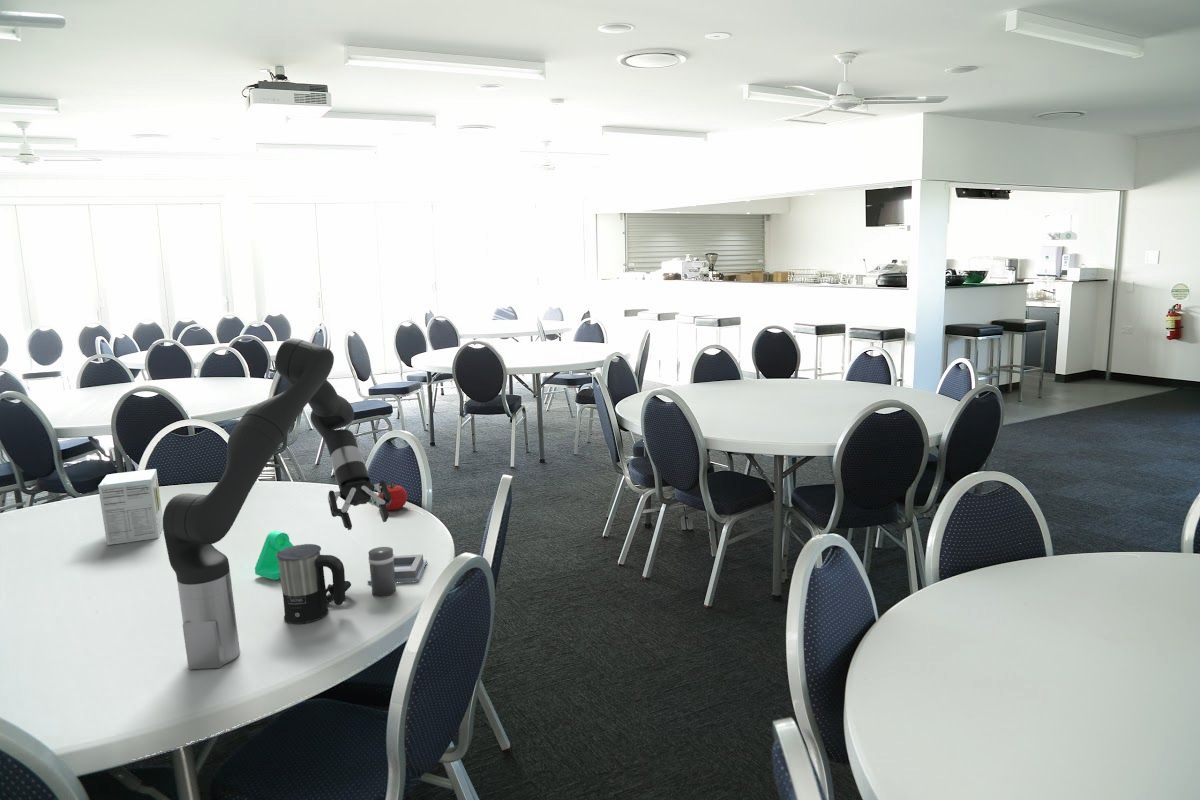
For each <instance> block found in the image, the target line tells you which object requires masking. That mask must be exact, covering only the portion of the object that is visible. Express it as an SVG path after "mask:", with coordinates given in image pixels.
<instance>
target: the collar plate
mask: <svg viewBox="0 0 1200 800" xmlns="http://www.w3.org/2000/svg"><path fill="white" fill-rule="evenodd" d="M426 563H428V560H427V559H424V554H409V555H408V554H407V555H404V554H403V555H394V570H395V581H396V584H397V582H398V583H399V582H402V583H417V581H420V580H419V579H421V577H422V575H423V573H424V571H423V570H425V568H426V566H427V564H426ZM425 565H426V566H425ZM424 567H425V568H424ZM422 572H423V573H422ZM421 574H422V575H421ZM413 581H414V582H413ZM415 581H416V582H415ZM399 584H400V583H399ZM367 585H371V575H370V576H369V578H368V580H367Z"/></svg>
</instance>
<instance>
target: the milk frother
mask: <svg viewBox="0 0 1200 800" xmlns="http://www.w3.org/2000/svg"><path fill="white" fill-rule="evenodd" d="M321 551H322V547H321V546H320V545H318V544H314V543H313V544H312V543H304V544H296V545H293V546H292V547H288V548H285V549H283V550H281V551H279V552H278V553H277V554H276V558H278V563H279V570H280V578H279V579H280V586H281V591H282V598H283V608H284V616H283V620H284V621H285V622H286V623H288V624H295V625H296V624H297V625H300V624H308V623H311V622H315V621H317V620H320V619H322V618H323V617H325V616H326V615H327V614H328V613H329V608H328V605H329V604H330V603H332V602H333V603H334V605H335V606H341V605H343V603H344V602H345V600H346V592H347V591H348V590H349V589H350V587H351V586H352V583H351V581H349V580H346V575H345V574H346V573H345V567H344V566H345V565H344V563H343V562H342V561H341V560H340V558H338V557H337V556H335V555H333V554H321ZM324 568H328V569H329V570H330V571H331V573H332V584H330V583H329V584H328V585H327V586H326V579H325V570H324ZM327 593H329V595H327Z"/></svg>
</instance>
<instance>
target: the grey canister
mask: <svg viewBox="0 0 1200 800" xmlns="http://www.w3.org/2000/svg"><path fill="white" fill-rule="evenodd" d="M394 556H395V555H394V550H393V548H392V547H391V546H379V547H375V548H372V549H370V550H369V551H368V564H369V571H370V572H369V574H370V576H371V584H370V585H371V593H372V596H373V597H377V598H383V597H385V598H386V597H388V596H389V597H390V596H392V595H394V594H396V592H397V583H396V581H395V570H394Z"/></svg>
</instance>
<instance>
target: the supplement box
mask: <svg viewBox="0 0 1200 800" xmlns="http://www.w3.org/2000/svg"><path fill="white" fill-rule="evenodd" d="M97 487H98V488H97V489H98V493H99V495H98V496H99V502H100V509H101V513H102V521H103V526H104V533H105V541H106V545H107V546H110V545H117V544H126V543H133V542H139V541H147V540H155V539H159V538H160V535H161V533H162V531H163V514H164V513H163V507H162V501H161V493H160V486H159V481H158V473H157V468H152V469H143V470H141V469H140V470H134V471H125V472H117V473H111V474H106V475H105V476H104V478H103V479H102V480H101V482H100V483H99V484H98V485H97Z"/></svg>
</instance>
